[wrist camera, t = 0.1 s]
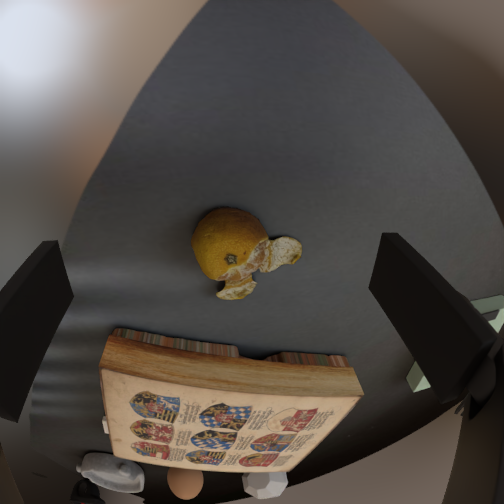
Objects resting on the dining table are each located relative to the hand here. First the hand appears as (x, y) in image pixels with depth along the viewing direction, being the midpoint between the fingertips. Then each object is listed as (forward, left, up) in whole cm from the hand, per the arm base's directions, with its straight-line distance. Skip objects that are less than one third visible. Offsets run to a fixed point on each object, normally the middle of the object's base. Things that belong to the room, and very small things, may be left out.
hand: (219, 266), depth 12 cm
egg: (+50, -8, -13) cm, 52 cm away
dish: (+55, -24, -13) cm, 61 cm away
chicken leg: (+57, +8, -13) cm, 59 cm away
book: (+29, -2, -13) cm, 31 cm away
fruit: (+7, +2, -13) cm, 14 cm away
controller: (+74, -38, -13) cm, 84 cm away
